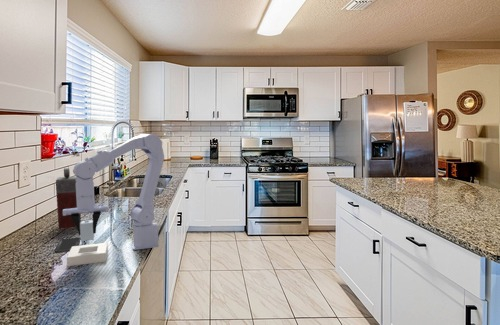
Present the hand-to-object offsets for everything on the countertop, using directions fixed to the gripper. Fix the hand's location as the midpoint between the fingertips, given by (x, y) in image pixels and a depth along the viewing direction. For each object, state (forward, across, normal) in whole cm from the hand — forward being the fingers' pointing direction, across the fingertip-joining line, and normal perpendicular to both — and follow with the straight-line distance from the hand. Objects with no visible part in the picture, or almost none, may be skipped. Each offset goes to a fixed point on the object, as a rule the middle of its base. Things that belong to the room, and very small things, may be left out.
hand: (87, 233), depth 121 cm
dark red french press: (+9, -12, +51) cm, 53 cm away
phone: (+10, -9, +18) cm, 22 cm away
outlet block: (+9, 0, 0) cm, 9 cm away
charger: (+2, 0, 0) cm, 2 cm away
